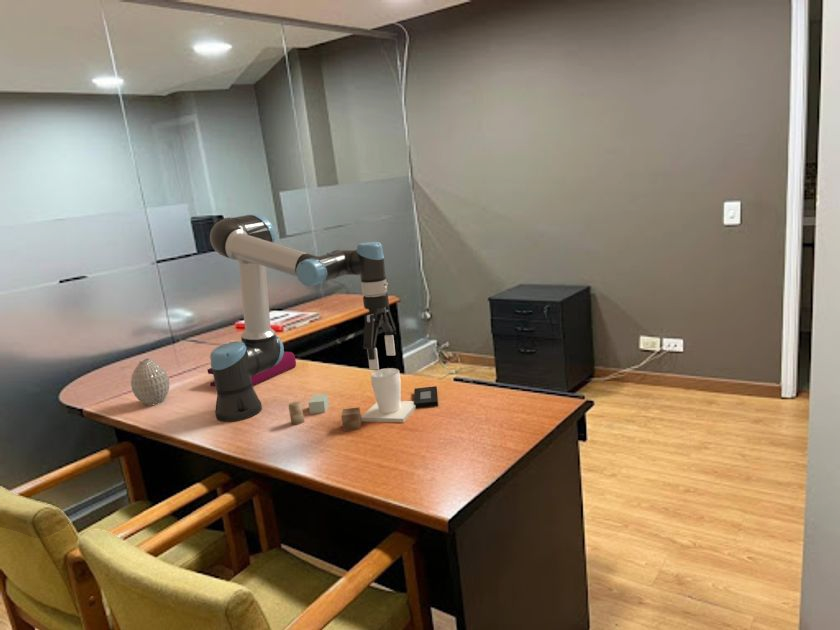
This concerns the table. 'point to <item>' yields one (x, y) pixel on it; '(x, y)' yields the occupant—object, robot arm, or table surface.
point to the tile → (397, 416)
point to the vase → (150, 382)
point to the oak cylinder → (296, 413)
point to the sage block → (318, 403)
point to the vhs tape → (425, 397)
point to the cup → (387, 389)
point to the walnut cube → (351, 419)
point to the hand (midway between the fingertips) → (383, 362)
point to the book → (284, 365)
